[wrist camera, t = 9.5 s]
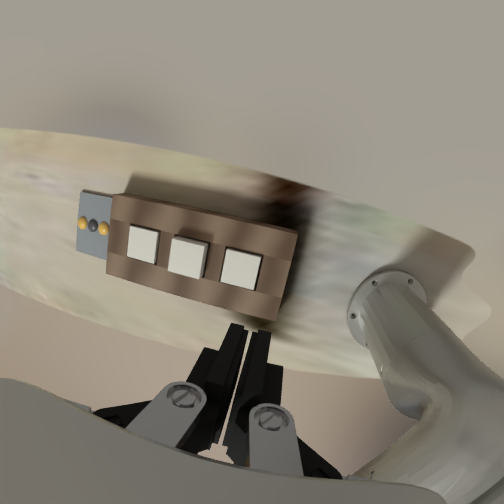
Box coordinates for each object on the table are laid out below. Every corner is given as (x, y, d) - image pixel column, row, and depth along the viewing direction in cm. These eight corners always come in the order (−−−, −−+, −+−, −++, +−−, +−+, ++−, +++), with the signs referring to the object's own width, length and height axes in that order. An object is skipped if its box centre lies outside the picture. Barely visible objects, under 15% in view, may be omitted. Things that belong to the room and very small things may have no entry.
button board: (297, 230, 39) (298, 234, 36) (276, 311, 42) (275, 321, 39) (123, 193, 41) (112, 194, 38) (116, 268, 44) (106, 273, 41)
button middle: (209, 242, 39) (204, 246, 37) (203, 274, 40) (199, 279, 38) (178, 235, 39) (171, 238, 37) (173, 266, 40) (167, 270, 38)
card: (114, 198, 42) (112, 198, 41) (109, 259, 44) (106, 260, 43) (82, 191, 42) (79, 191, 41) (77, 249, 45) (75, 250, 44)
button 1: (262, 253, 39) (260, 257, 37) (255, 284, 40) (253, 290, 38) (230, 245, 40) (226, 249, 37) (224, 276, 41) (220, 281, 39)
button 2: (164, 230, 40) (157, 232, 38) (160, 259, 41) (153, 263, 39) (137, 223, 41) (129, 226, 39) (134, 252, 42) (126, 256, 40)
